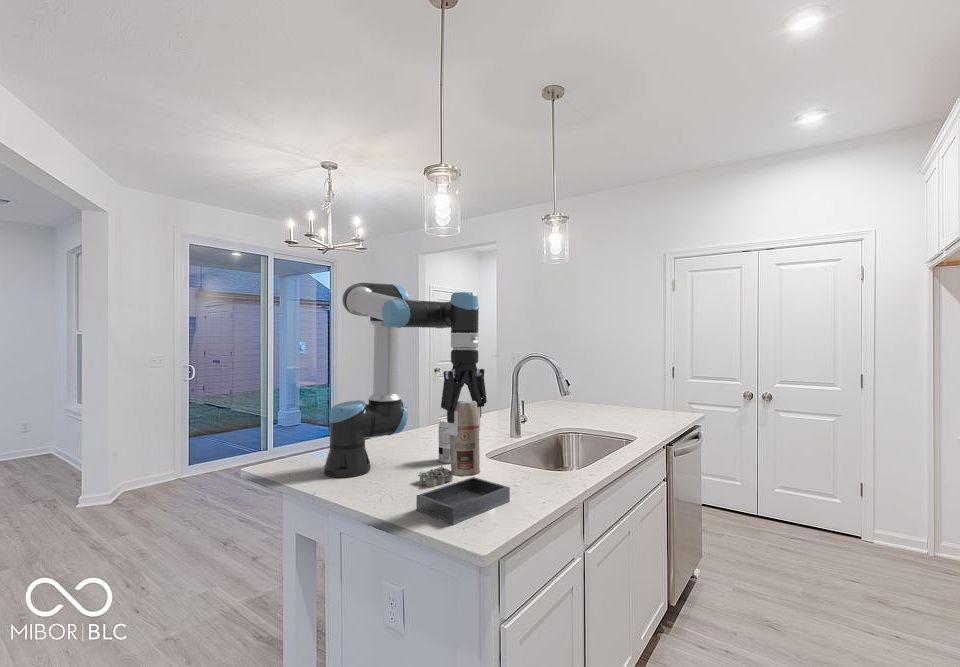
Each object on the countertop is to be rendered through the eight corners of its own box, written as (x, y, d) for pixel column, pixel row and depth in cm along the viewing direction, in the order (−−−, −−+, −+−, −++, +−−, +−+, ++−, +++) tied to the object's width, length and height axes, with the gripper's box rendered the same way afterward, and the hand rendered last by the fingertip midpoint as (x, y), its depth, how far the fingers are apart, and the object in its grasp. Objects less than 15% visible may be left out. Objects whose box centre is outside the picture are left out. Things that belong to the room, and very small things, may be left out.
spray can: (444, 476, 125) (444, 401, 125) (456, 468, 132) (456, 397, 133) (473, 479, 122) (473, 403, 122) (484, 471, 129) (484, 399, 130)
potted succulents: (429, 489, 142) (429, 476, 142) (415, 483, 147) (415, 470, 147) (456, 481, 149) (456, 468, 149) (442, 476, 155) (442, 464, 155)
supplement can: (438, 458, 176) (438, 418, 177) (460, 457, 177) (460, 418, 177) (438, 464, 168) (438, 422, 168) (461, 463, 169) (461, 422, 169)
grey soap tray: (453, 525, 114) (453, 508, 114) (416, 510, 124) (416, 495, 124) (509, 501, 131) (509, 487, 131) (473, 490, 140) (473, 476, 140)
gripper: (446, 350, 117) (446, 440, 117) (499, 348, 132) (499, 428, 132) (426, 349, 122) (426, 436, 122) (480, 348, 138) (480, 425, 137)
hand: (464, 432), depth 127 cm, fingers closed on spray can, 8 cm apart
